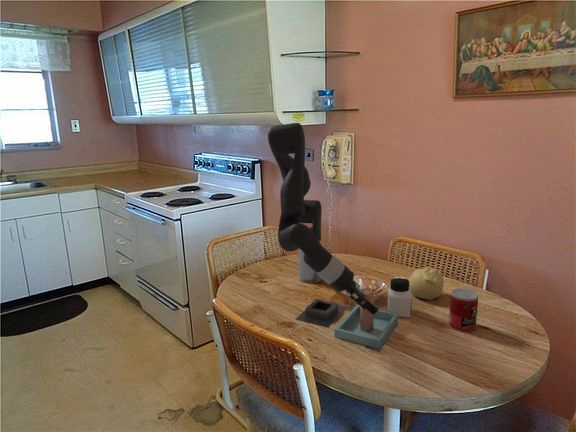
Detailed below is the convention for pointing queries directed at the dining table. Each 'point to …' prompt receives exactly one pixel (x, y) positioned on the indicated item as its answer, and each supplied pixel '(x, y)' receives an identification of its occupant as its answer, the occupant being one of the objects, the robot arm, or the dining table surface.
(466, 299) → the canned food
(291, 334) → the dining table surface
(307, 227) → the robot arm
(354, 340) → the tray
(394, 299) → the medicine bottle
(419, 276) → the pale yellow round lump
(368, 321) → the dowel
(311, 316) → the holder
